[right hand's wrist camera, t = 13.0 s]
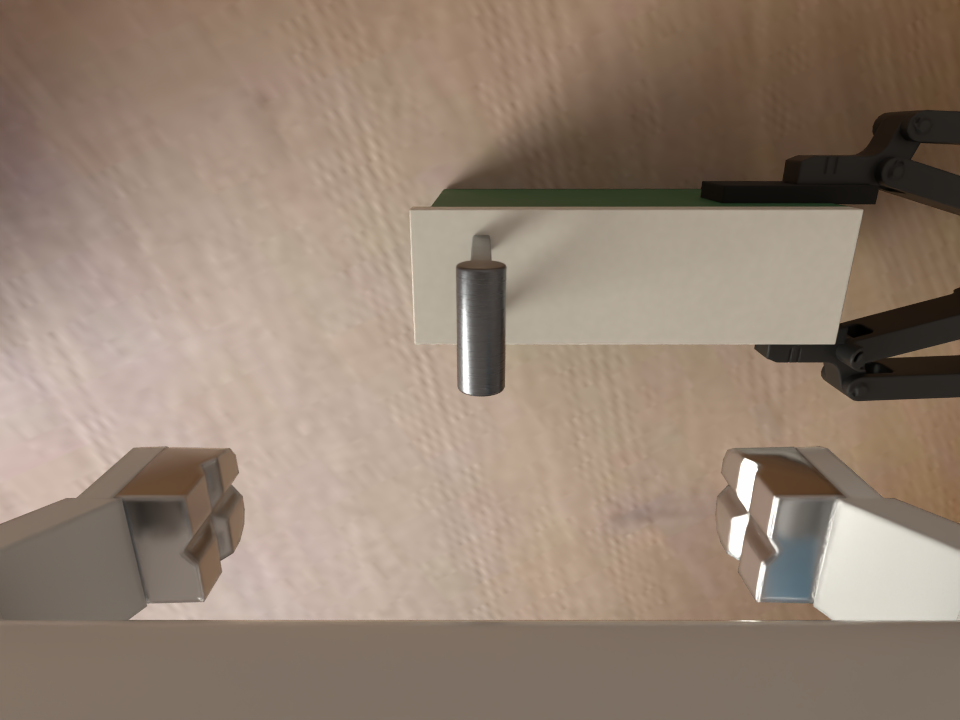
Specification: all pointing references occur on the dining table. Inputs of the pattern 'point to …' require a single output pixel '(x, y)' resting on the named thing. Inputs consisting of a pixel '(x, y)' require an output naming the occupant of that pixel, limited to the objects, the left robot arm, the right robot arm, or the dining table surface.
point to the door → (625, 278)
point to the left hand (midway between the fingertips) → (703, 262)
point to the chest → (591, 198)
